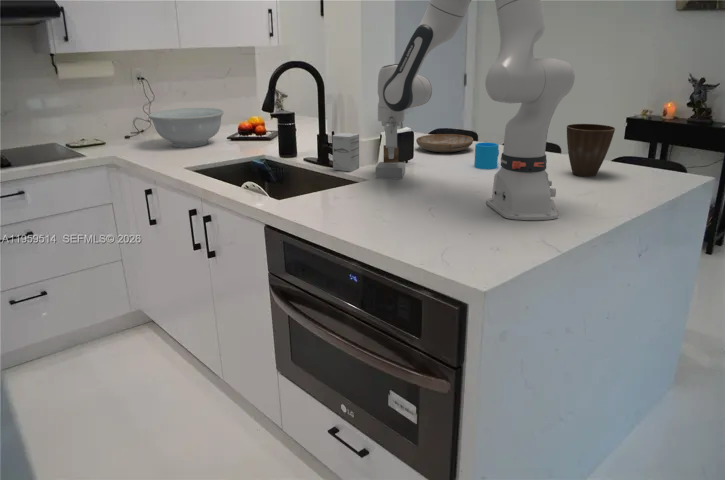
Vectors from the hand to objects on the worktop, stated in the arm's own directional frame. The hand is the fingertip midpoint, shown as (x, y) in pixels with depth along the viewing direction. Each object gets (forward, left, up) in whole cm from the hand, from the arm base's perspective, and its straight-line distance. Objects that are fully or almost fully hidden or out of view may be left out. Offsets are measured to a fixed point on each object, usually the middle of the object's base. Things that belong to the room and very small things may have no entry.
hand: (391, 156), depth 187 cm
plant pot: (0, -66, -7) cm, 66 cm away
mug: (+14, -36, -7) cm, 39 cm away
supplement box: (+10, +16, -7) cm, 20 cm away
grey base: (0, 0, -7) cm, 7 cm away
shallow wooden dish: (+45, -23, -7) cm, 51 cm away
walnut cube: (0, 0, -2) cm, 2 cm away
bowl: (+62, +91, -7) cm, 110 cm away
